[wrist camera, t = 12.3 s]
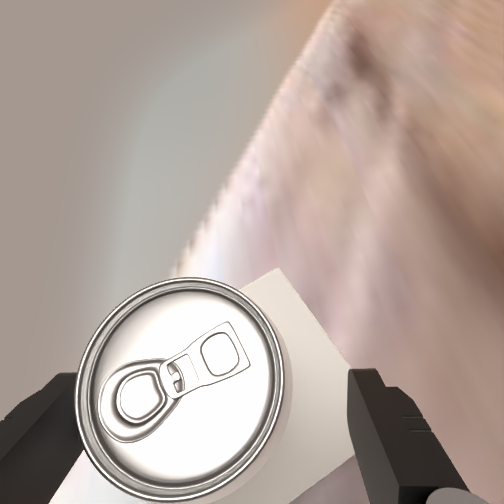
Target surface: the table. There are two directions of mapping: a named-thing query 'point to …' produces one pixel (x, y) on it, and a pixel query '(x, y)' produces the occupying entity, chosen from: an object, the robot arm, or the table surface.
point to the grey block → (300, 401)
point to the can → (183, 392)
